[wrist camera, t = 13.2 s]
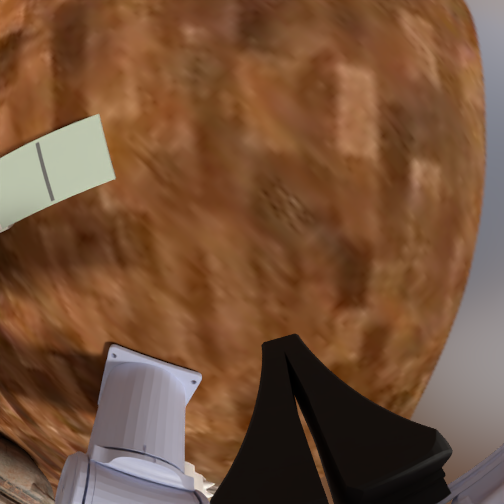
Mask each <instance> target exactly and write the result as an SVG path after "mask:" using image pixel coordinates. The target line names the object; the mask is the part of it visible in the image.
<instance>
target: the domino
mask: <svg viewBox="0 0 504 504" xmlns="http://www.w3.org/2000/svg"><path fill="white" fill-rule="evenodd" d="M114 179H116V176H115V173H114V169H113V166H112V162H111V159H110V155H109V151H108V147H107V143H106V139H105V135H104V131H103V127H102V122H101V118H100V115H99V114H97V115H94V116H91V117H89V118H86V119H83V120H81V121H78V122H76V123H73V124H71V125H68V126H66V127H63V128H61V129H59V130H56V131H54V132H52V133H49V134H47V135H45V136H43V137H41V138H39V139H36V140H34V141H32V142H30V143H28V144H26V145H24V146H22V147H20V148H18V149H16V150H15V151H13V152H11V153H9V154H7V155H5V156H3V157H2V158H0V224H1V227H2V229H4V228H6V227H8V226H10V225H12V224H13V223H15V222H17V221H19V220H21V219H23V218H25V217H27V216H29V215H31V214H34V213H36V212H38V211H40V210H42V209H44V208H46V207H48V206H51V205H53V204H55V203H57V202H59V201H62V200H64V199H66V198H69V197H71V196H73V195H76V194H78V193H81V192H83V191H85V190H88V189H90V188H93V187H95V186H98V185H101V184H103V183H106V182H108V181H111V180H114Z"/></svg>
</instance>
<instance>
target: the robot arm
mask: <svg viewBox="0 0 504 504" xmlns="http://www.w3.org/2000/svg"><path fill="white" fill-rule="evenodd" d="M113 353H114V354H116V355H114V354H113ZM201 379H202V375H201V374H200V373H198V372H195V371H192V370H188V369H185V368H182V367H179V366H175V365H172V364H169V363H166V362H163V361H160V360H157V359H154V358H151V357H148V356H145V355H143V354H140V353H137V352H134V351H132V350H129V349H126V348H124V347H121V346H118V345H115V344H112V345H111V346H110V348H109V352H108V356H107V360H106V365H105V369H104V374H103V379H102V384H101V389H100V394H99V399H98V406H99V407H98V411H97V414H96V418H95V422H94V426H93V430H92V434H91V438H90V442H89V446H88V450H87V453H86V454H85V453H83V452H80V451H78V452H76V453H74V454H71V455H69V456H68V458H67V460H66V462H65V465H64V467H63V470H62V473H61V477H60V480H59V484H58V488H57V493H56V498H55V504H329V503H328V500H327V497H326V494H325V491H324V488H323V486H322V483H321V480H320V477H319V474H318V471H317V469H316V466H315V463H314V460H313V457H312V454H311V451H310V448H309V445H308V442H307V439H306V436H305V433H304V430H303V427H302V424H301V421H300V418H299V415H298V411H297V406H296V401H295V397H296V400H297V402H298V404H299V407H300V409H301V411H302V414H303V416H304V418H305V421H306V423H307V425H308V427H309V430H310V432H311V434H312V437H313V439H314V442H315V444H316V447H317V450H318V453H319V456H320V460H321V463H322V466H323V469H324V472H325V476H326V479H327V482H328V485H329V488H330V492H331V495H332V498H333V502H334V504H446V503H447V502H449V501H451V500H452V499H453V500H452V503H451V504H504V444H503V445H502V446H500V447H499V448H498V449H497V450H495V451H494V452H493V453H492V454H490V455H489V456H488V457H487V458H485V459H484V460H483V461H481V462H480V463H479V464H478V465H476V466H475V467H473V468H472V469H471V470H469V471H468V472H466V473H465V474H463V475H462V476H460V477H459V478H457V479H456V480H455V481H453V482H451V483H450V484H448V485H447V484H446V482H445V480H444V477H445V473H444V471H443V469H442V466H443V465H444V464H445V463H446V462H447V460H448V459H449V458H450V456H451V454H452V448H451V447H450V445H449V443H448V442H447V441H446V440H445V438H444V437H443V436H442V435H441V434H440V433H439V432H438V431H437V430H436V429H434V428H431V427H427V426H424V425H421V424H418V423H416V422H413V421H411V420H408V419H406V418H403V417H401V416H399V415H397V414H395V413H393V412H391V411H389V410H387V409H385V408H383V407H381V406H379V405H377V404H375V403H374V402H372V401H370V400H369V399H367V398H366V397H364V396H362V395H361V394H359V393H358V392H357V391H355V390H354V389H352V388H351V387H350V386H348V385H347V384H346V383H344V382H343V381H342V380H341V379H339V378H338V377H337V376H336V375H335V374H333V373H332V372H331V371H330V370H329V369H328V368H327V367H326V366H325V365H324V364H323V363H322V362H321V361H320V360H319V359H318V358H317V357H316V356H315V355H314V354H313V353H312V352H311V351H310V350H309V349H308V347H307V346H306V345H305V344H304V342H303V341H302V340H301V338H300V337H299V335H297V334H292V335H288V336H285V337H281V338H278V339H274V340H270V341H267V342H264V343H263V344H262V371H261V378H260V385H259V391H258V395H257V400H256V404H255V408H254V412H253V415H252V418H251V422H250V425H249V428H248V430H247V433H246V435H245V438H244V441H243V443H242V445H241V448H240V450H239V452H238V454H237V456H236V458H235V460H234V462H233V464H232V466H231V468H230V470H229V472H228V473H227V475H226V477H225V478H224V480H223V482H222V483H221V485H220V486H219V488H218V489H217V491H216V492H215V494H214V495H213V497H212V498H211V500H210V503H209V501H208V499H207V497H206V496H205V495H204V494H203V493H202V492H201V491H199V490H196V489H194V478H193V477H190V476H187V475H185V407H186V405H187V403H188V402H189V400H190V398H191V397H192V395H193V393H194V392H195V390H196V388H197V386H198V385H199V383H200V381H201ZM192 380H195V381H192ZM294 395H295V396H294Z"/></svg>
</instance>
